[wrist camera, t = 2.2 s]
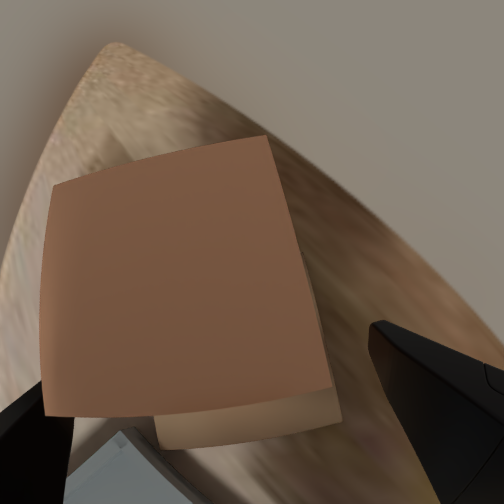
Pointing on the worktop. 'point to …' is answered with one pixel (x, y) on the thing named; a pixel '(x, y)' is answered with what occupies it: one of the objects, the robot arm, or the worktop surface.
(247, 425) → the peg on square base
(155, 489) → the tray
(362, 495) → the worktop surface
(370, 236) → the worktop surface
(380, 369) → the robot arm
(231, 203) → the tan rectangular prism
